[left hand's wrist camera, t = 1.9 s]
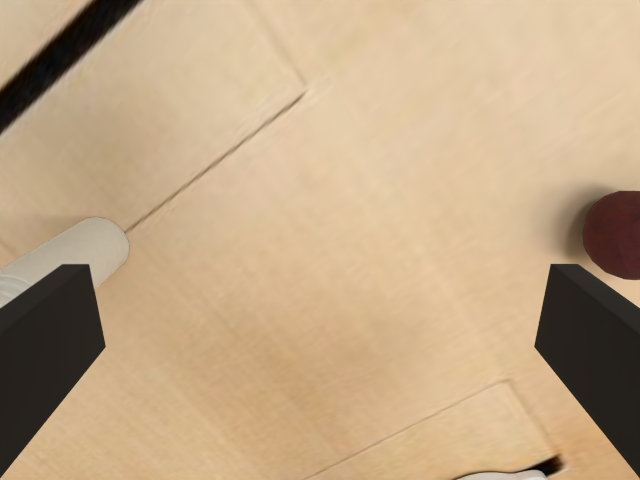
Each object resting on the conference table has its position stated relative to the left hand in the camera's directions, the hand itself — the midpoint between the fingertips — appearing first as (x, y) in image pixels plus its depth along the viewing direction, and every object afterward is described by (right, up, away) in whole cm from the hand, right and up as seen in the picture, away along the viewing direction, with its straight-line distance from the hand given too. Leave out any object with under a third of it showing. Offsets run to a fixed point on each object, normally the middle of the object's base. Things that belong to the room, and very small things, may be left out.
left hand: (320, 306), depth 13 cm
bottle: (-21, +1, +29) cm, 36 cm away
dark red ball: (+27, +4, +28) cm, 39 cm away
